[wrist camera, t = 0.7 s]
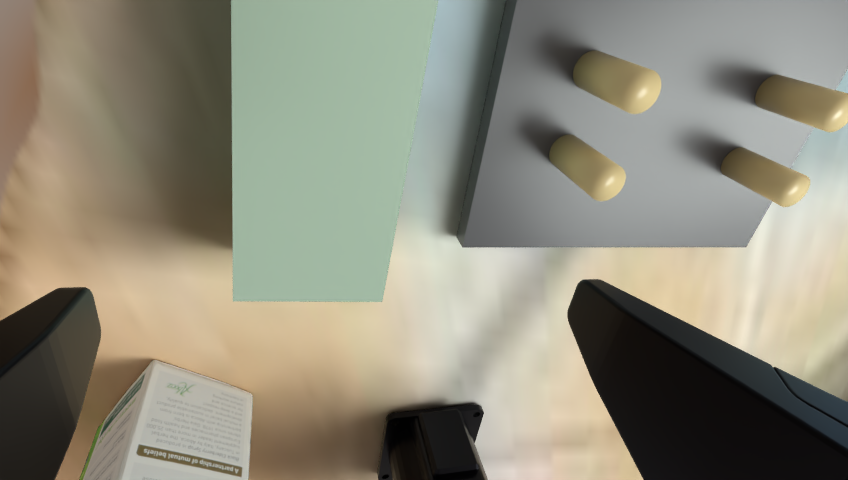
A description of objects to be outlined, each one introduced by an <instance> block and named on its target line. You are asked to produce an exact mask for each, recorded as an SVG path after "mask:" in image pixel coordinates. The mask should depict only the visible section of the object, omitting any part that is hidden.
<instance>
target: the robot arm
mask: <svg viewBox="0 0 848 480" xmlns="http://www.w3.org/2000/svg"><path fill="white" fill-rule="evenodd" d="M568 321H569V324H570V327H571V329H572V332H573V334H574V337H575V339H576V342H577V344H578V347H579V349H580V352H581V354H582V357H583V359H584V362H585V364H586V366H587V369H588V371H589V374H590V376H591V378H592V381H593V383H594V385H595V387H596V389H597V391H598V393H599V395H600V397H601V399H602V401H603V403H604V405H605V407H606V409H607V410H608V412H609V414H610V416H611V418H612V420H613V422H614V424H615V426H616V428H617V430H618V432H619V433H620V435H621V437H622V439H623V441H624V443H625V445H626V447H627V449H628V451H629V453H630V454H631V456H632V458H633V460H634V462H635V464H636V466H637V468H638V470H639V472H640V474H641V476H642V477H643V479H644V480H848V402H847V401H845V400H842V399H840V398H838V397H836V396H834V395H832V394H829V393H827V392H825V391H823V390H821V389H819V388H817V387H815V386H813V385H811V384H809V383H807V382H805V381H803V380H801V379H799V378H797V377H795V376H793V375H791V374H789V373H787V372H785V371H783V370H781V369H778V368H776V367H774V368H773V367H772V366H771V365H770V364H768V363H766V362H764V361H762V360H760V359H758V358H756V357H754V356H752V355H750V354H748V353H746V352H744V351H742V350H740V349H738V348H736V347H734V346H732V345H730V344H728V343H726V342H724V341H722V340H720V339H718V338H716V337H714V336H712V335H710V334H708V333H706V332H704V331H702V330H700V329H698V328H696V327H694V326H692V325H690V324H688V323H686V322H684V321H682V320H680V319H678V318H676V317H674V316H672V315H670V314H668V313H666V312H664V311H662V310H660V309H658V308H656V307H654V306H652V305H650V304H648V303H646V302H644V301H642V300H640V299H638V298H636V297H634V296H632V295H630V294H628V293H626V292H624V291H622V290H620V289H618V288H616V287H614V286H612V285H610V284H608V283H606V282H604V281H602V280H598V279H588V280H582V281H580V282H579V283H578V285H577V287H576V290H575V293H574V295H573V298H572V300H571V303H570V306H569V308H568ZM100 338H101V327H100V322H99V318H98V314H97V310H96V306H95V301H94V297H93V294H92V292H91V291H90V290H89V289H88V288H85V287H73V288H58V289H56V290H54V291H52V292H50V293H48V294H47V295H45V296H43V297H41V298H40V299H38V300H36V301H34V302H33V303H31V304H29V305H27V306H26V307H24V308H22V309H20V310H19V311H17V312H15V313H13V314H12V315H10V316H8V317H6V318H5V319H3V320H1V321H0V480H55V478H56V476H57V473H58V471H59V469H60V466H61V464H62V461H63V459H64V456H65V454H66V452H67V449H68V447H69V444H70V442H71V439H72V437H73V434H74V431H75V429H76V426H77V423H78V419H79V416H80V413H81V409H82V405H83V402H84V398H85V394H86V391H87V387H88V383H89V380H90V376H91V372H92V369H93V365H94V362H95V358H96V354H97V351H98V347H99V343H100ZM483 414H484V412H483V409H482V407H481V406H480V405H468V406H458V407H447V408H437V409H427V410H417V411H407V412H397V413H391V414H389V415H388V416H387V417H386V421H385V427H384V434H383V440H382V446H381V452H380V459H379V465H378V471H377V473H378V479H379V480H488V479H487V476H486V474H485V471H484V468H483V466H482V463H481V460H480V457H479V455H478V452H477V449H476V447H475V444H474V443H475V440H476V437H477V434H478V430H479V427H480V424H481V421H482V417H483Z"/></svg>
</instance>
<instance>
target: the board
mask: <svg viewBox="0 0 848 480" xmlns="http://www.w3.org/2000/svg"><path fill="white" fill-rule="evenodd" d="M437 4H438V0H231V57H232V215H233V301H300V302H382V300H383V295H384V289H385V284H386V279H387V273H388V268H389V262H390V257H391V252H392V246H393V241H394V236H395V230H396V225H397V219H398V214H399V209H400V203H401V198H402V193H403V187H404V182H405V176H406V171H407V166H408V160H409V155H410V150H411V144H412V139H413V133H414V128H415V123H416V117H417V112H418V107H419V101H420V96H421V90H422V85H423V80H424V74H425V69H426V64H427V58H428V53H429V47H430V42H431V37H432V31H433V26H434V21H435V15H436V10H437Z"/></svg>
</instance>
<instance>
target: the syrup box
mask: <svg viewBox="0 0 848 480" xmlns="http://www.w3.org/2000/svg"><path fill="white" fill-rule="evenodd" d="M252 408H253V396H252V394H251V393H249V392H247V391H245V390H242V389H239V388H237V387H234V386H232V385H229V384H227V383H224V382H221V381H218V380H215V379H212V378H209V377H207V376H203V375H200V374H197V373H194V372H191V371H188V370H185V369H182V368H179V367H176V366H173V365H170V364H167V363H164V362H160V361H158V360H153V361H151V363H150V364H149V365H148V367H147V368H146V369H145V370H144V371H143V373H142V374H141V375H140V376H139V377H138V379H137V380H136V381H135V382H134V383H133V384H132V385H131V387H130V388H129V389H128V390H127V392H126V393H125V394H124V395H123V397H122V398H121V399H120V400H119V402H118V403H117V404H116V405H115V407H114V408H113V409H112V411H111V412H110V413H109V415H108V416H107V417H106V418H105V420H104V421H103V422H102V424H101V425H100V426H99V427H98V429H97V432H96V435H95V438H94V441H93V443H92V446H91V449H90V452H89V454H88V457H87V460H86V463H85V465H84V468H83V471H82V474H81V476H80V479H79V480H249V460H250V444H251V425H252Z"/></svg>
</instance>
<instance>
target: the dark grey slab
mask: <svg viewBox="0 0 848 480" xmlns="http://www.w3.org/2000/svg"><path fill="white" fill-rule="evenodd" d="M847 69H848V0H506V5H505V10H504V14H503V19H502V24H501V29H500V33H499V38H498V43H497V48H496V52H495V57H494V62H493V67H492V71H491V76H490V81H489V86H488V90H487V95H486V100H485V105H484V109H483V114H482V119H481V124H480V128H479V133H478V138H477V143H476V147H475V152H474V157H473V161H472V166H471V171H470V176H469V180H468V185H467V190H466V195H465V199H464V204H463V209H462V214H461V218H460V223H459V228H458V233H457V238H458V240H459V242H460V244H461V245H462V247H746V246H747V245H748V243H749V241H750V239H751V238H752V236H753V234H754V232H755V231H756V229H757V227H758V225H759V224H760V222H761V220H762V218H763V217H764V215H765V213H766V211H767V210H768V208H769V206H770V204H771V203H772V201H773V202H775V203H777V204H778V205H780V206H782V207H789V206H792V205H794V204H796V203H797V202H798V201H800V200H801V199H802V198H803V197H804V195H805V194H806V193H807V191H808V189H809V186H810V179H809V177H807V176H805V175H803V174H801V173H799V172H797V171H794V170H792V169H791V167H792V166H793V164H794V162H795V160H796V159H797V157H798V155H799V153H800V152H801V150H802V148H803V146H804V145H805V143H806V141H807V139H808V138H809V136H810V134H811V132H812V131H813V129H814V127H815V128H818V129H821V130H824V131H826V132H834V131H837V130H839V129H840V128H842V127H843V126H845V125H846V124H847V123H848V93H844V92H840V91H837V90H836V89H837V87H838V85H839V83H840V82H841V80H842V78H843V76H844V75H845V73H846V71H847Z"/></svg>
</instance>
